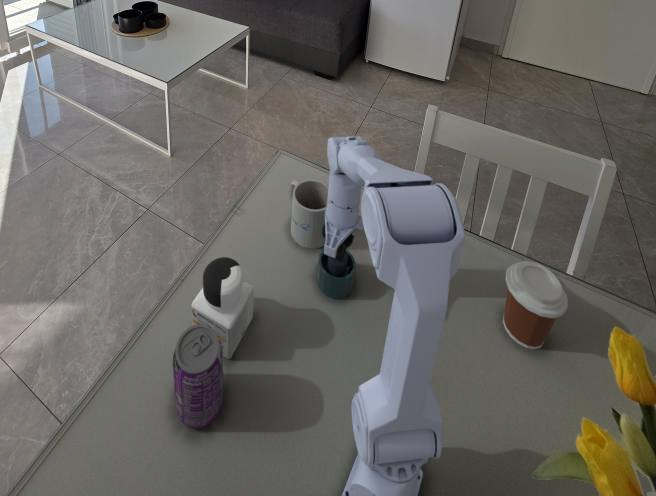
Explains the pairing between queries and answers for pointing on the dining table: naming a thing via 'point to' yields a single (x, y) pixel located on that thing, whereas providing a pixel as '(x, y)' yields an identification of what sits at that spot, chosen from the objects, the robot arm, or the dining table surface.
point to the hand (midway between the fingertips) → (337, 253)
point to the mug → (308, 212)
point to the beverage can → (198, 376)
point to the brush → (337, 266)
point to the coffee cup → (532, 303)
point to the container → (224, 303)
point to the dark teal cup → (335, 285)
